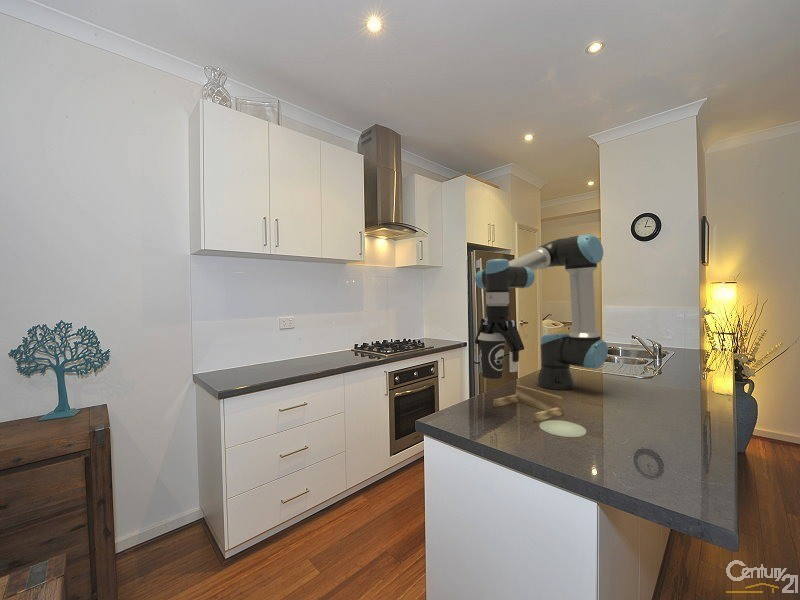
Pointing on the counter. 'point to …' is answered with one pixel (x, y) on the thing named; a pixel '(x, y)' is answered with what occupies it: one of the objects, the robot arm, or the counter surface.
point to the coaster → (562, 428)
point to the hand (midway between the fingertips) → (497, 368)
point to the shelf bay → (535, 402)
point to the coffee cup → (492, 354)
